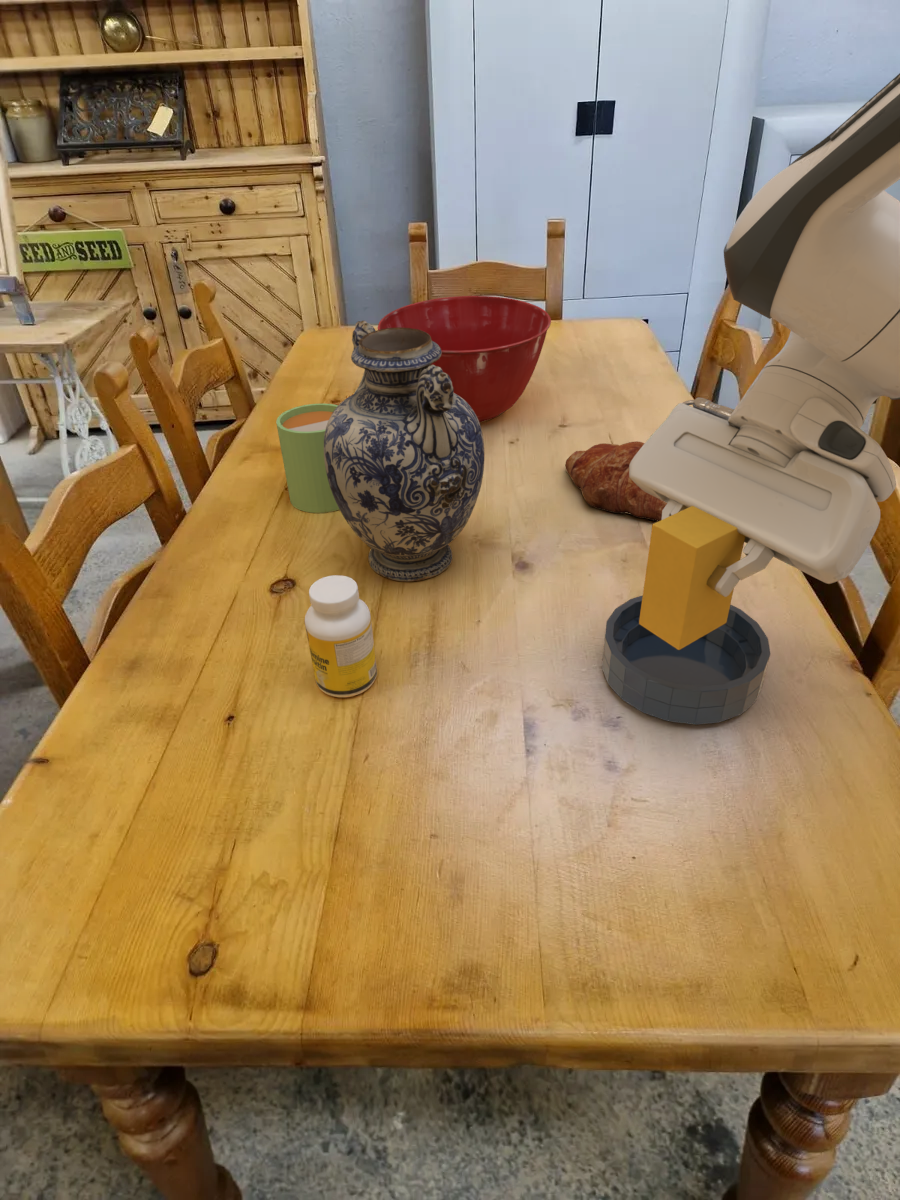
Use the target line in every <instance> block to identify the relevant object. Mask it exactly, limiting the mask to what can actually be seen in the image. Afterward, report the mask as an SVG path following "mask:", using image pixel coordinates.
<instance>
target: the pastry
mask: <svg viewBox="0 0 900 1200" xmlns="http://www.w3.org/2000/svg"><path fill="white" fill-rule="evenodd" d="M644 443H645V442H642V441H638V440H637V441H630V442H629V441H628V442H626V443H622V444H616V443H605V442H603V443H598V444H594V445H592V446H591V447H590V448H588V449H586V450H575V451H574V452H573V453H572V454H571V455H569V457H568V458H567V459H566V460H565V464H564V465H565V466H564V467H565V470H566V473H567V474H568V476H569V477H570V478H571V479H572V482H573V483H574V485H575V487H576V488H578V489H579V490H581V494H582V496H583V499H584V500H585V503H586V504H588V505H589V506H591V507H592V508H595V509H598V510H601V511H605V512H611V513H614V514H629V515H631V516H633V517H634V518H643V519H647V520H650V521H656V522H658V521H661V519H662V510H663V509H664V507H665V506H666V505H667V503H666V502H664V501H662V500H660V499H658V498H656V497H654V496H652V495H650V494H648V493H646V492H645V491H643V490H642V489H641V488H640V487H638V486H637V485H636V484H635V483H634V482H633V481H632V480H631V478H630V477H629V465H630V462H631V461H632V459H633V458H634V456H635V455H636V454H637V452H638V451H639V450H640V448H641V447H642V446H643V445H644Z"/></svg>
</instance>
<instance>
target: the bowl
mask: <svg viewBox="0 0 900 1200" xmlns="http://www.w3.org/2000/svg"><path fill="white" fill-rule="evenodd" d="M642 597H643V594H642V595H638V596H636V597H632V598H630V599H628V600H627V601H625V602H623V603H622V604H620V605H619V606H617V607H616V608H615V609H614V610H613V612H612V613H611V614H610V616H609V617H608V619H607V620H606V624H605V633H604V642H603V652H602V653H603V654H602V664H601V669H602V672H603V675H604V678H605V680H606V682H607V685H608V686H609V687H610V688H611V689H612V690H613V691H614V693H616V695H617V696H618V697H619V698H620V699H621V700H622V701H624V702H625V703H627V704H628V705H630V706H632V707H633V708H635V709H636V710H638V711H639V712H641V713H643V714H645V715H648V716H651V717H655V718H658V719H660V720H663V721H666V722H672V723H679V724H680V723H681V724H687V725H695V726H696V725H707V724H715V723H716V724H717V723H723V722H724V721H727V720H731V719H732V718H735V717H738V716H741V715H742V714H744V713H745V712H746V711H747V710H749V709H750V708H751V707H752V706H753V705H754V704H755V703H756V702H757V700H758V698H759V695H760V693H761V690H762V688H763V685H764V681H765V677H766V673H767V669H768V666H769V662H770V658H771V648H770V642H769V637H768V636H767V634H766V633H765V632H764V630H763V629H762V627H761V626H760V624H759V623H758V622H757V621H756V620H755V619H754V618H753V617H751V616H750V615H748V614H747V612H745V611H744V610H742V609H741V608H739V607H737V606H734V605H733V604H730V609H729V613H728V618H727V622H726V623H725V624H723V625H722V626H720V627H718V628H716V629H715V630H713V631H711V632H710V633H708V634H706V635H704V636H703V637H701V638H699V639H697V640H696V641H694V642H692V643H691V644H689V645H687V646H685V647H684V648H682V649H680V650H678V649H676V648H675V647H673V646H672V645H670V644H669V643H667V642H666V641H664V640H662V639H661V638H659V637H658V636H656V635H655V634H653V633H652V632H650V631H649V630H647V629H646V628H644V627H643V626H641V625H640V624H639V619H640V612H641V605H642Z"/></svg>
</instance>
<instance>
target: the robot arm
mask: <svg viewBox="0 0 900 1200" xmlns="http://www.w3.org/2000/svg"><path fill="white" fill-rule="evenodd" d="M899 181H900V72H899V73H898V74H897V75H896V76H894V78H893V79H891V80H890V81H889V82H888V83H887V84H886V85H885V86H884V87H882V88H881V89H880V90H879V91H878V92H876V94H875V95H873V96H872V97H871V98H870V99H869V100H867V101H866V102H865V103H864V104H863V105H862V106H860V108H859V109H858V110H856V111H855V112H854V113H853V114H851V116H849V117H848V118H847V119H846V120H845V121H844V122H842V123H841V124H840V125H839V126H838V127H836V129H834V131H832V132H831V133H830V134H828V135H827V136H826V137H825V138H824V139H823V140H821V141H820V142H819V143H817V144H815V145H813V146H812V147H811V148H810V149H808V150H807V151H805V152H804V153H802V154H801V155H800V156H799V157H797V158H796V159H794V160H793V161H792V162H791V163H790V164H789V165H788V166H787V167H785V168H784V169H782V170H780V172H778V173H777V174H775V175H774V176H773V177H772V178H771V179H769V180H768V181H767V182H766V183H765V184H764V185H763V186H762V187H761V188H760V189H759V190H758V191H756V192H755V194H754V195H753V196H752V197H751V199H750V200H749V201H748V203H747V204H746V206H745V207H744V209H743V210H742V211H741V213H740V214H739V216H738V218H737V219H736V221H735V223H734V225H733V226H732V229H731V231H730V233H729V236H728V239H727V242H726V244H725V246H724V249H723V261H724V269H725V273H726V279H727V282H728V286H729V290H730V293H731V296H732V299H733V300H734V301H736V302H737V303H739V304H741V305H743V306H745V307H747V308H748V309H750V310H752V311H754V312H755V313H758V314H759V315H762V316H763V317H765V318H767V319H768V320H771V319H773V320H774V321H776V322H777V323H779V324H780V325H782V326H783V327H785V328H787V329H788V330H789V331H790V332H789V335H788V338H787V340H786V342H785V344H784V345H783V347H782V349H781V350H780V351H778V353H777V354H776V355H775V356H774V357H772V358H771V359H770V360H768V361H767V363H766V364H765V365H764V366H763V367H762V369H761V370H760V371H759V373H758V374H757V376H756V378H754V380H753V381H752V383H751V384H750V386H749V387H748V389H747V390H746V392H745V393H744V394H743V396H742V397H741V399H740V400H739V402H738V403H737V405H736V406H735V408H731V407H729V406H726V405H722V404H717V403H714V402H713V401H711V400H709V399H707V398H704V397H696V398H695V399H689V400H686V401H682V402H680V403H677V404H676V405H675V406H674V407H673V408H672V409H671V411H670V413H669V414H668V415H667V417H666V418H665V420H664V421H663V422H662V423H661V424H660V425H659V426H658V427H657V428H656V429H655V430H654V431H653V433H652V434H651V435H650V436H649V438H648V439H647V440H646V441H645V442H643V443H644V445H643V446H642V447H641V448H640V450H639V451H638V452H637V454H636V455H635V456H634V458H633V459H632V461H631V462H630V465H629V477H630V478H631V480H632V481H633V482H634V483H635V484H636V485H637V486H638V487H640V488H641V489H642V490H643V491H645V492H646V493H648V494H650V495H652V496H654V497H656V498H658V499H660V500H662V501H664V502H666V503H667V505H666V506H665V507H664V509H663V510H662V519H661V520H663V519H665V518H667V517H669V516H671V515H674V514H676V513H678V512H680V511H682V510H684V509H687V508H689V507H691V506H694V507H696V508H698V509H700V510H702V511H704V512H706V513H708V514H710V515H712V516H714V517H716V518H718V519H720V520H722V521H724V522H726V523H728V524H731V525H733V526H735V527H737V531H738V533H740V534H742V535H744V536H745V541H744V544H746V545H745V546H744V547H743V550H742V553H743V554H744V555H745V556H744V557H741V559H740V560H739V561H737V562H736V563H734V564H732V565H730V566H729V567H727V568H726V569H725V568H723V567H721V566H720V565H717V567H716V568H715V570H714V571H713V573H712V575H710V577H709V578H708V580H707V585H708V586H709V587H710V588H711V589H712V590H714V591H716V592H717V593H719V594H721V595H723V596H724V597H727V596H728V595H729V594H730V593H731V591H732V590H733V589H734V590H735V587H736V586H737V585H738V583H739V582H740V581H743V580H745V579H747V578H749V577H751V576H753V575H755V574H757V573H759V572H762V571H763V570H765V569H766V568H767V566H768V565H769V564H770V562H771V561H772V559H773V558H775V559H777V560H779V561H781V562H782V563H784V564H787V565H789V566H791V567H792V568H795V569H797V570H798V571H800V572H802V573H805V574H807V575H808V576H810V577H812V578H814V579H817V580H818V581H821V582H822V583H824V584H828V585H831V584H835V583H836V582H839V581H842V580H844V579H846V578H847V577H848V576H849V575H850V574H851V572H852V571H853V570H854V569H855V567H856V565H857V564H858V563H859V561H860V559H861V558H862V557H863V555H864V553H865V552H866V550H867V549H868V546H869V545H870V544H871V541H872V539H873V538H874V536H875V534H876V531H877V529H878V528H879V524H880V521H881V509H880V506H879V504H878V503H882V502H885V501H886V500H888V499H889V498H890V496H891V495H892V494H893V493H894V491H895V490H896V488H897V479H896V475H895V472H894V469H893V466H892V464H891V462H890V459H889V458H888V456H887V455H886V453H885V451H884V450H883V448H882V447H881V445H880V443H878V442H877V441H876V440H875V439H874V438H873V437H871V436H870V435H869V434H868V433H866V432H865V431H864V430H863V429H861V428H862V426H863V425H864V423H865V420H866V418H867V417H868V413H869V411H870V408H871V407H872V405H873V404H874V402H875V401H876V400H877V399H878V398H880V397H886V398H889V399H890V400H891V401H895V400H897V401H898V400H900V200H899V199H897V198H896V197H894V196H893V195H891V194H890V193H888V191H886V190H887V189H889V188H891V186H893V185H894V184H896V183H897V182H899ZM734 590H733V591H734Z"/></svg>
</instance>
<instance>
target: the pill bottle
mask: <svg viewBox="0 0 900 1200" xmlns="http://www.w3.org/2000/svg"><path fill="white" fill-rule="evenodd" d="M308 596H309V603H310V606H309V607H308V609H307V611H306V612H305V615H304V626H305V627H304V628H305V632H306V638H307V642H308V648H309V653H310V659H311V664H312V670H313V675H314V681H315V683H316V685H317V687H318V689H319V690H320V691H322V692H323V693H324V694H326V695H328V696H331V697H335V698H350V697H354V696H357V695H361V694H362V693H364V692H366V691H367V690H368V689H370V688H371V687H372V686H373V685H374V683H375V681H376V678H377V675H378V667H377V666H378V665H377V659H376V651H375V644H374V643H375V642H374V633H373V632H374V631H373V626H372V625H373V624H372V617H371V616H372V615H371V611H370V608H369V606H368V605H367V603H366V602H365V601H364V600H363V599H361V598H360V591H359V586H358V583H357V582H356V581H355V580H354V579H353V578H352V577H350V576H346V575H341V574H340V575H339V574H336V575H335V574H334V575H327V576H323V577H322V578H318V579H316V580H315V581H314V582H313V583H312V584H311V585H310V587H309V589H308Z"/></svg>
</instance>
